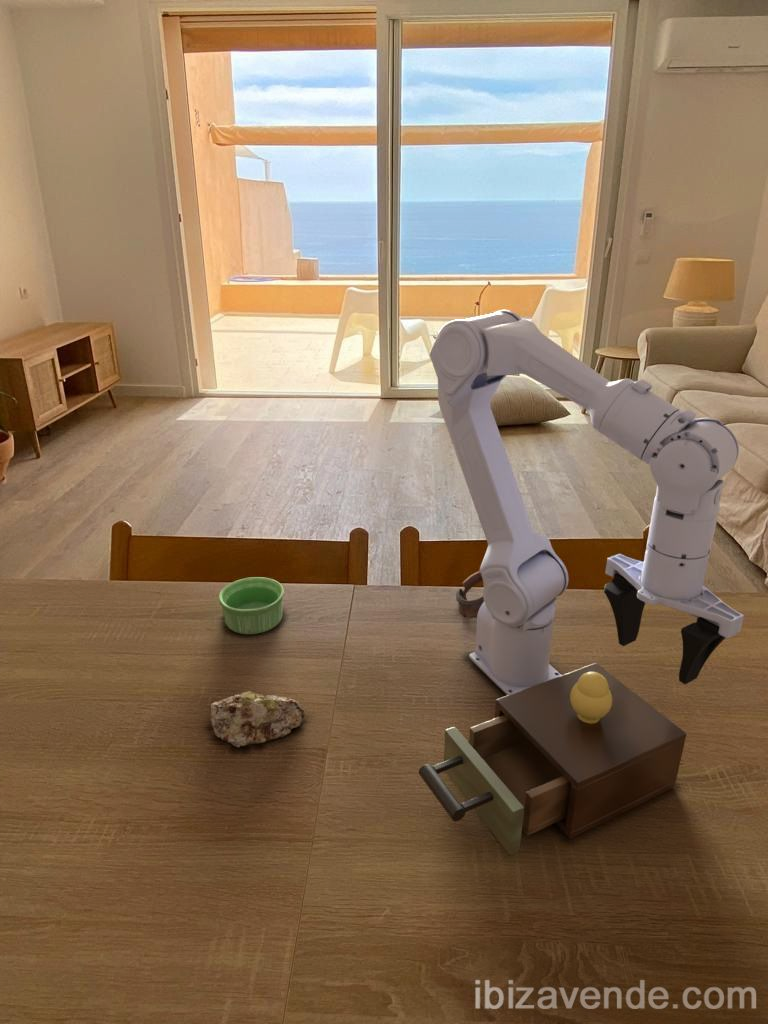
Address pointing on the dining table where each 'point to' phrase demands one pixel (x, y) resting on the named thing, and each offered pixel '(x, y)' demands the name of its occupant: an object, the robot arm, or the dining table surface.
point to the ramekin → (252, 604)
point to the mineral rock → (254, 718)
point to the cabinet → (598, 747)
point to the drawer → (500, 781)
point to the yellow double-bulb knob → (591, 697)
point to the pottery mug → (465, 606)
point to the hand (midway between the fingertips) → (656, 659)
